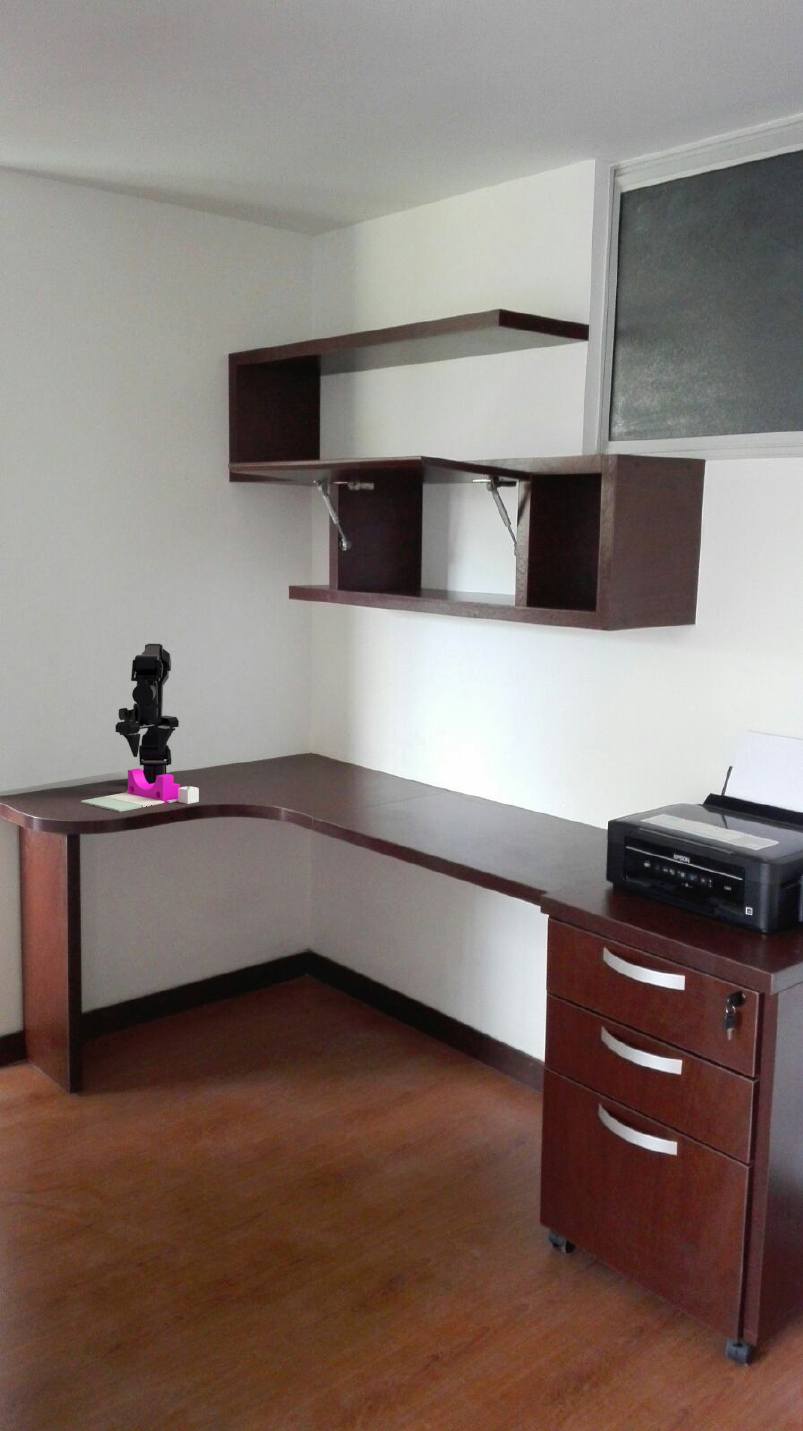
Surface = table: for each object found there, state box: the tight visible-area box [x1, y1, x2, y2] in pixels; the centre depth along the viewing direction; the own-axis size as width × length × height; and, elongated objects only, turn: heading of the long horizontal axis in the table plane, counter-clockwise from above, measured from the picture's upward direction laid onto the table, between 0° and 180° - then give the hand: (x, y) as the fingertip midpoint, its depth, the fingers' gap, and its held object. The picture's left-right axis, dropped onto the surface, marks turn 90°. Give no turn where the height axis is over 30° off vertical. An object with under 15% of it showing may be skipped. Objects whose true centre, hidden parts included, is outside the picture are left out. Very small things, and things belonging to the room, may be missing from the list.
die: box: [177, 785, 200, 805], centre depth 331 cm, size 4×4×4 cm
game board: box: [80, 790, 178, 813], centre depth 331 cm, size 22×19×1 cm
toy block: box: [127, 768, 181, 804], centre depth 336 cm, size 15×6×8 cm, turn 52°
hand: (148, 754), depth 335 cm, fingers open, 9 cm apart
